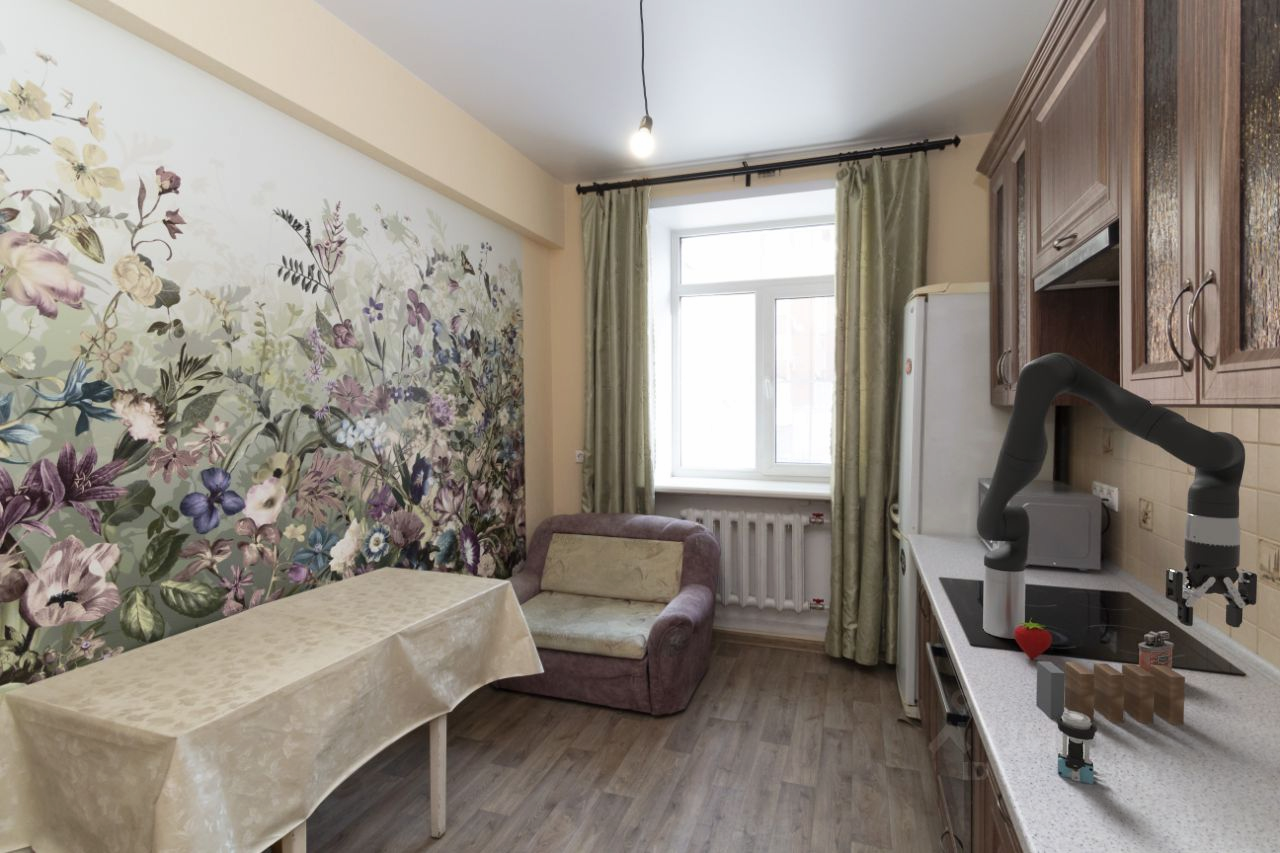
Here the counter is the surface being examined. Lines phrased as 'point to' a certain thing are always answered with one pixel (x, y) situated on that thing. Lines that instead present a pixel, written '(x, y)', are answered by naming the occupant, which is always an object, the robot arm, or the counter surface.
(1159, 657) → the lighter
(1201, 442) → the robot arm
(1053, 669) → the charcoal tile
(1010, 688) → the counter surface
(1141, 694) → the walnut tile
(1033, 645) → the strawberry
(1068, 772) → the push button
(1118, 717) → the walnut tile
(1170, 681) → the walnut tile
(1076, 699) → the walnut tile
